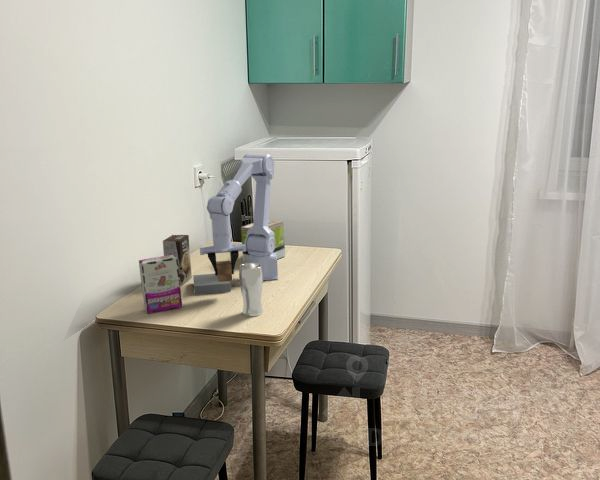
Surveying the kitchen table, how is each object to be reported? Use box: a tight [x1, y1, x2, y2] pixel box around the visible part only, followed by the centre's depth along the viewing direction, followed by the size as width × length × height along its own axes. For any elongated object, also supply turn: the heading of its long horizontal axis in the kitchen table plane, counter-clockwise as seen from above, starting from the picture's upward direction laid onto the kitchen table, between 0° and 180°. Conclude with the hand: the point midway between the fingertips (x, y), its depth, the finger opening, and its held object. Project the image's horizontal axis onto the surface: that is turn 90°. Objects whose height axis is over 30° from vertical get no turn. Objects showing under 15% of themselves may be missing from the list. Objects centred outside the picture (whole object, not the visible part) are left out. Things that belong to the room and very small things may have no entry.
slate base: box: [192, 273, 231, 296], centre depth 202 cm, size 12×12×3 cm
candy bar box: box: [138, 255, 183, 315], centre depth 182 cm, size 11×5×16 cm, turn 117°
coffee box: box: [162, 234, 193, 286], centre depth 208 cm, size 9×6×16 cm
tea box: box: [240, 219, 286, 264], centre depth 231 cm, size 15×10×15 cm, turn 144°
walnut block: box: [216, 260, 233, 282], centre depth 190 cm, size 4×4×6 cm
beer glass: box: [238, 263, 264, 318], centre depth 177 cm, size 7×7×15 cm
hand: (224, 274), depth 191 cm, fingers closed on walnut block, 4 cm apart
